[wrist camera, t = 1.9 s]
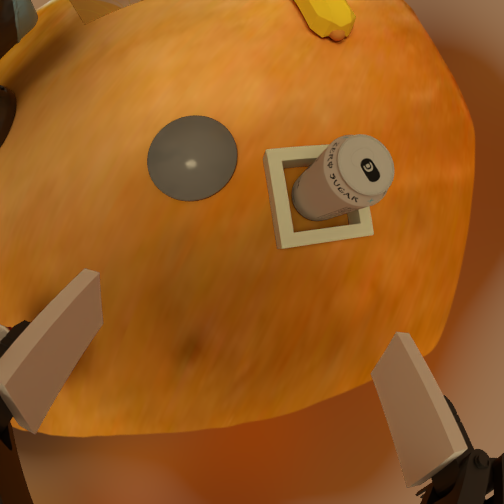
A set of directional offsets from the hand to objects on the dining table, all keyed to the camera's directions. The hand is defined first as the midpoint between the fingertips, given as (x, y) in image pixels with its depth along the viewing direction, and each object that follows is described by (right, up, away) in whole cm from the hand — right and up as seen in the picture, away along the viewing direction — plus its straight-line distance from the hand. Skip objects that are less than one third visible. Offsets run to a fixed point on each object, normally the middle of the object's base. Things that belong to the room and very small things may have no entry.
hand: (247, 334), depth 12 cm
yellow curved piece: (+11, +44, +23) cm, 51 cm away
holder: (+8, +10, +23) cm, 26 cm away
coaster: (-7, +15, +22) cm, 27 cm away
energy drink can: (+8, +10, +23) cm, 26 cm away
